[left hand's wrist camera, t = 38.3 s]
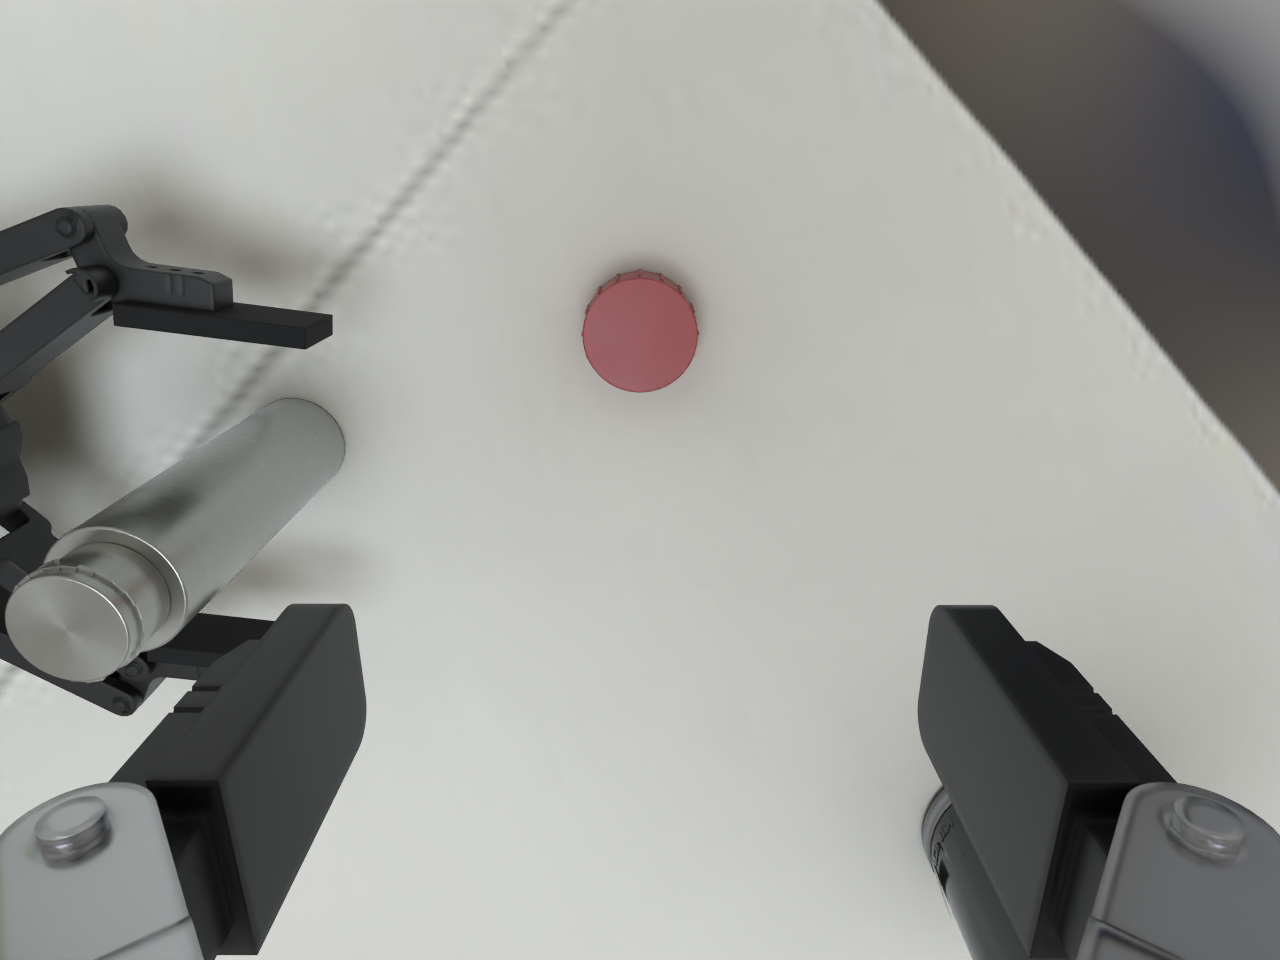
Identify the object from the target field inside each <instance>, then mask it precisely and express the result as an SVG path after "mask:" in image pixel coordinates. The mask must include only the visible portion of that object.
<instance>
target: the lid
mask: <svg viewBox="0 0 1280 960" xmlns="http://www.w3.org/2000/svg"><path fill="white" fill-rule="evenodd" d="M693 313H695V311H694V308H693V306H692V304H689V301H688V300H687V298H686V296H685V295H684V293H683V292H682V289H681V287H680V286H677V285H676V284H674V283H673V282H672V281H670V280H669V279H667V278H665V277H663V274H661V273H660V275H658V274H655V273H652V272H645V271H641V269H638V271H635V272H628V273H625V274H621V275H619V274H617V275H616V277H615V278H613V279H611V280H610V281H608V282H607V283H606V284H605V285H603V286H602V287H601V286H600V287H599V288H598V291H597V293H596V295H595V296H594V298H593V300H592V302H591V304H590V305H588V306H587V309H586V312H585V314H587V315H586V318H585V322H584V326H583V331H582V336H583V344H584V349H585V352H586V356H587V358H588V360H589V362H590V364H591V365H592V367H593V368H594V370H595V371H596V372H597V373H598V374H599V375H600V376H601V377H602V378H603V379H604V380H605V381H607V382H608V383H609V384H611V385H613V386H615V387H617V388H620V389H622V390H626V391H630V392H650V391H654V390H658V389H661V388H663V387H666V386H667V385H669V384H671V383H672V382H674V381H675V380H676V379H678V378H679V377H680V376H681V375H682V374H683V373H684V371H685V370H686V369H687V368H688V366H689V364H690V363H691V361H692V358H693V357H694V354H695V350H696V346H697V336H698V335H699V332H698V329H697V324H696V320H695V317H694V314H693Z"/></svg>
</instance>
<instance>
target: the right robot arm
mask: <svg viewBox="0 0 1280 960" xmlns="http://www.w3.org/2000/svg"><path fill="white" fill-rule="evenodd" d="M127 227H128V223H127V220H126V217H125V215H124V214H123V213H122V212H121V210H119V209H118V208H116V207H115V206H111V205H94V206H79V207H67V208H58V209H55V210H52V211H50V212H47V213H45V214H42V215H40V216H37V217H35V218H32V219H30V220H27V221H25V222H22V223H20V224H17V225H15V226H12V227H10V228H7V229H5V230H2V231H0V285H3V284H5V283H8V282H10V281H13V280H15V279H18V278H20V277H23V276H26V275H28V274H31V273H33V272H36V271H38V270H41V269H43V268H46V267H49V266H51V265H54V264H56V263H59V262H61V261H64V260H67V259H69V258H72V257H73V258H74V261H75V263H76V265H77V267H78V268H72V269H69V270H67V271H65V272H66V273H67V274H71V273H74V274H72V275H71V276H70V277H68V278H67V279H66V280H65V281H63V282H62V283H61V284H60V285H58V286H57V287H56V288H54V289H53V290H52V291H51V292H49V293H48V294H47V295H46V296H44V297H43V298H42V299H40V300H39V301H38V302H37V303H35V304H34V305H33V306H32V307H30V308H29V309H28V310H26V311H25V312H24V313H23V314H21V315H20V316H19V317H18V318H16V319H15V320H14V321H12V322H11V323H10V324H9V325H7V326H6V327H5V328H4V329H2V330H1V331H0V404H1V403H2V402H3V401H4V400H6V399H7V398H8V397H10V396H11V395H12V394H14V393H15V392H16V391H18V390H19V389H20V388H22V387H23V386H24V385H25V384H27V383H28V382H29V381H30V380H31V378H30V377H31V376H32V375H34V374H35V373H36V372H38V371H39V370H40V369H42V368H43V367H44V366H46V365H47V364H48V363H49V362H51V361H52V360H53V359H55V358H56V357H57V356H59V355H60V354H61V353H63V352H64V351H65V350H66V349H68V348H69V347H70V346H72V345H73V344H74V343H76V342H77V341H78V340H80V339H81V338H82V337H84V336H85V335H86V334H87V333H89V332H90V331H91V330H93V329H94V328H95V327H97V326H98V325H99V324H101V323H102V322H103V321H104V320H106V319H107V318H108V317H110V316H111V315H112V314H113V319H114V326H122V327H130V328H138V329H146V330H154V331H162V332H170V333H178V334H186V335H194V336H202V337H210V338H218V339H226V340H234V341H242V342H250V343H258V344H266V345H274V346H282V347H290V348H298V349H307V348H309V347H311V346H313V345H314V344H316V343H318V342H320V341H322V340H324V339H326V338H327V337H329V336H331V335H333V326H332V315H329V314H322V313H314V312H306V311H298V310H290V309H282V308H274V307H266V306H259V305H251V304H243V303H235V302H233V288H232V279H230V278H228V277H226V276H224V275H223V274H221V273H219V272H214V271H206V270H198V269H189V268H183V267H175V266H167V265H159V264H152V263H148V262H145V261H143V260H141V259H140V258H139V257H137V256H136V255H135V254H134V252H133V251H132V250H131V248H130V246H129V244H128V241H127V239H126V237H125V234H126V232H127ZM21 443H22V437H21V430H20V423H19V421H11V419H10V417H9V415H8V414H7V412H6V411H5V410H4V409H3V407H2V406H1V405H0V525H1V526H2V527H3V528H5V529H6V530H7V531H9V532H10V533H9V534H7V535H5V536H4V537H2V538H0V659H2V660H4V661H7V662H9V663H11V664H13V665H15V666H17V667H19V668H21V669H23V670H25V671H27V672H29V673H31V674H33V675H36V676H38V677H40V678H42V679H44V680H46V681H48V682H50V683H52V684H54V685H56V686H58V687H60V688H63V689H65V690H67V691H69V692H71V693H73V694H75V695H77V696H79V697H81V698H83V699H85V700H87V701H90V702H92V703H94V704H96V705H98V706H100V707H102V708H104V709H106V710H108V711H110V712H112V713H114V714H117V715H120V716H129V715H132V714H133V713H134V712H135V711H136V710H137V709H138V707H139V706H141V705H142V704H143V702H144V701H145V700H146V699H147V698H148V697H149V696H150V695H151V694H152V693H153V692H154V691H155V689H156V688H157V687H158V686H159V685H160V684H161V683H162V682H163V680H164V679H165V678H166V677H169V678H179V679H188V680H198V679H199V678H200V677H201V676H202V675H203V673H204V672H205V671H206V670H207V669H208V668H209V667H210V665H211V664H212V663H213V662H214V661H215V660H217V659H219V658H220V657H222V656H223V655H225V654H226V653H228V652H230V651H231V650H233V649H234V648H236V647H238V646H239V645H241V644H242V643H244V642H246V641H247V640H260V639H261V638H262V637H263V636H264V634H265V633H266V632H267V631H268V629H269V628H270V627H271V626H272V625H273V623H274V622H275V621H268V620H259V619H250V618H240V617H231V616H222V615H213V614H204V613H197V615H196V616H195V617H194V618H193V619H192V620H191V621H190V622H189V623H188V624H187V625H186V626H185V627H184V628H183V629H182V630H181V631H180V632H179V633H178V634H177V635H176V636H175V637H174V638H173V639H172V640H170V641H169V642H167V643H166V644H164V645H162V646H160V647H158V648H155V649H153V650H149V651H145V652H140V653H139V655H138V656H137V657H136V658H134V659H133V660H132V661H131V662H130V663H129V664H127V665H125V666H123V667H121V668H118V669H117V670H116V671H115V672H113V673H112V674H110V675H108V676H106V678H105V679H104V680H103V681H97V682H91V683H86V682H75V681H70V680H65V679H61V678H58V677H55V676H52V675H50V674H48V673H46V672H44V671H42V670H40V669H38V668H37V667H35V666H34V665H33V664H31V663H30V662H29V661H28V660H27V659H25V658H24V657H23V656H22V655H21V653H20V652H19V651H18V650H17V649H16V647H15V646H14V644H13V643H12V641H11V639H10V637H9V635H8V632H7V629H6V625H5V609H6V605H7V602H8V600H9V598H10V596H11V594H12V592H13V590H14V588H15V586H16V585H17V584H18V583H19V582H20V581H21V580H22V579H23V578H25V577H26V576H27V575H28V574H30V573H31V572H34V571H36V570H37V569H38V568H39V567H40V566H42V565H43V561H44V559H45V557H46V554H47V552H48V551H49V549H50V548H51V546H52V545H53V544H54V543H55V542H56V541H57V540H58V539H57V538H56V537H55V536H54V535H53V534H52V533H51V527H52V526H51V524H50V522H49V521H48V520H47V519H46V518H45V517H43V516H42V515H41V514H40V513H38V512H37V511H36V510H34V509H33V508H32V507H31V506H29V505H28V504H27V503H25V502H24V501H23V498H25V497H27V496H29V495H30V491H29V485H28V478H27V475H26V473H25V470H24V468H23V466H22V463H21V461H20V458H19V456H20V449H21Z"/></svg>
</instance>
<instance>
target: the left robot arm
mask: <svg viewBox="0 0 1280 960" xmlns="http://www.w3.org/2000/svg"><path fill="white" fill-rule="evenodd" d="M365 722H366V696H365V689H364V681H363V674H362V667H361V660H360V652H359V645H358V638H357V631H356V624H355V618H354V614H353V611H352V609H351V608H350V606H349V605H348V604H291V605H289V606H288V607H287V608H286V609H285V610H284V611H283V612H282V614H281V615H280V616H279V617H278V618H277V620H276V621H275V622H274V623H273V625H272V626H271V627H270V628H269V629H268V631H267V632H266V633H265V634H264V636H263V637H262V638H261V639H260V640H247V641H246V642H244V643H242V644H241V645H239V646H238V647H236V648H234V649H233V650H231V651H230V652H228V653H226V654H225V655H223V656H222V657H220V658H219V659H217V660H215V661H214V662H213V663H212V664H211V665H210V667H209V668H208V669H207V670H206V671H205V672H204V673H203V675H202V676H201V677H200V678H199V679H198V680H197V681H196V683H195V684H194V685H193V686H192V691H188V692H187V693H186V694H185V695H184V696H183V697H182V699H181V700H180V701H179V702H178V703H177V704H176V705H175V707H174V712H173V713H168V715H167V716H166V717H165V718H164V719H163V720H162V721H161V723H160V724H159V725H158V726H157V727H156V728H155V729H154V731H153V732H152V733H151V734H150V735H149V736H148V737H147V739H146V740H145V741H144V742H143V743H142V744H141V745H140V747H139V748H138V749H137V750H136V751H135V752H134V753H133V754H132V756H131V757H130V758H129V759H128V760H127V761H126V762H125V764H124V765H123V766H122V767H121V768H120V769H119V770H118V772H117V773H116V774H115V775H114V776H113V777H112V778H111V780H110V781H109V782H107V783H100V784H94V785H90V786H85V787H81V788H78V789H75V790H72V791H69V792H66V793H64V794H61V795H59V796H56V797H54V798H52V799H50V800H48V801H46V802H44V803H42V804H40V805H38V806H37V807H35V808H33V809H32V810H30V811H28V812H27V813H26V814H24V815H23V816H21V817H20V818H19V819H17V820H16V821H15V822H14V823H12V824H11V825H10V826H9V827H8V828H7V829H6V830H5V831H4V832H3V833H2V834H1V835H0V960H215V958H216V956H217V955H258V953H259V951H260V949H261V947H262V944H263V942H264V940H265V938H266V936H267V934H268V932H269V930H270V928H271V926H272V924H273V922H274V920H275V918H276V916H277V914H278V912H279V910H280V908H281V906H282V904H283V902H284V900H285V898H286V896H287V894H288V891H289V889H290V887H291V885H292V883H293V881H294V879H295V877H296V875H297V873H298V871H299V869H300V867H301V865H302V863H303V861H304V859H305V857H306V855H307V853H308V851H309V849H310V847H311V845H312V843H313V841H314V838H315V836H316V834H317V832H318V830H319V828H320V826H321V824H322V822H323V820H324V818H325V816H326V814H327V812H328V810H329V808H330V806H331V804H332V802H333V800H334V798H335V796H336V794H337V792H338V790H339V788H340V785H341V783H342V781H343V779H344V777H345V775H346V773H347V771H348V769H349V767H350V765H351V763H352V761H353V759H354V757H355V755H356V753H357V751H358V749H359V746H360V744H361V741H362V738H363V734H364V729H365ZM918 722H919V729H920V735H921V739H922V742H923V745H924V748H925V750H926V752H927V754H928V756H929V758H930V760H931V762H932V764H933V766H934V768H935V770H936V772H937V774H938V776H939V778H940V780H941V782H942V784H943V786H944V789H943V790H942V791H941V792H940V793H939V795H938V796H937V797H936V799H935V800H934V801H933V803H932V804H931V806H930V808H929V810H928V812H927V814H926V817H925V820H924V824H923V831H922V840H923V846H924V850H925V853H926V855H927V857H928V860H929V862H930V864H931V867H932V869H933V871H934V873H935V875H936V877H937V880H938V883H939V887H940V890H941V893H942V896H943V899H944V902H945V904H946V907H947V909H948V906H947V903H946V900H945V897H944V894H943V891H944V893H945V895H946V898H947V900H948V902H949V905H950V907H951V910H952V912H953V915H954V917H955V920H956V922H957V924H958V927H959V929H960V931H961V934H962V936H963V938H964V941H965V943H966V945H967V948H968V950H969V952H970V955H971V957H972V959H973V960H1280V835H1279V834H1278V833H1277V832H1276V831H1275V830H1274V829H1273V828H1272V827H1271V826H1270V825H1269V824H1268V823H1266V822H1265V821H1264V820H1263V819H1261V818H1260V817H1259V816H1257V815H1256V814H1254V813H1253V812H1252V811H1250V810H1248V809H1247V808H1245V807H1243V806H1242V805H1240V804H1238V803H1236V802H1234V801H1232V800H1230V799H1228V798H1226V797H1224V796H1221V795H1219V794H1216V793H1214V792H1211V791H1208V790H1205V789H1202V788H1199V787H1195V786H1190V785H1186V784H1180V783H1177V782H1176V781H1175V780H1174V779H1173V778H1172V776H1171V775H1170V774H1169V773H1168V772H1167V771H1166V770H1165V769H1164V767H1163V766H1162V765H1161V764H1160V763H1159V762H1158V761H1157V759H1156V758H1155V757H1154V756H1153V755H1152V754H1151V753H1150V752H1149V750H1148V749H1147V748H1146V747H1145V746H1144V745H1143V744H1142V742H1141V741H1140V740H1139V739H1138V738H1137V737H1136V736H1135V735H1134V733H1133V732H1132V731H1131V730H1130V729H1129V728H1128V727H1127V726H1126V724H1125V723H1124V722H1123V721H1122V720H1121V719H1120V718H1119V716H1118V715H1113V714H1112V709H1111V707H1110V706H1109V705H1108V704H1107V703H1106V702H1105V701H1104V700H1103V698H1102V697H1101V696H1100V695H1099V694H1098V693H1094V691H1093V687H1092V686H1091V685H1090V684H1089V683H1088V681H1087V680H1086V679H1085V678H1084V677H1083V676H1082V675H1081V673H1080V672H1079V671H1078V670H1077V669H1076V668H1075V667H1074V666H1073V664H1072V663H1071V662H1069V661H1067V660H1066V659H1064V658H1063V657H1061V656H1059V655H1058V654H1056V653H1055V652H1053V651H1051V650H1050V649H1048V648H1047V647H1045V646H1043V645H1042V644H1040V643H1039V642H1037V641H1025V640H1024V639H1023V638H1022V637H1021V636H1020V634H1019V633H1018V632H1017V631H1016V630H1015V628H1014V627H1013V626H1012V625H1011V624H1010V622H1009V621H1008V620H1007V619H1006V617H1005V616H1004V615H1003V614H1002V613H1001V611H1000V610H999V609H998V608H997V607H995V606H993V605H938V606H936V607H935V608H934V610H933V611H932V614H931V617H930V621H929V628H928V635H927V642H926V649H925V656H924V663H923V670H922V677H921V684H920V691H919V699H918ZM941 886H942V888H943V891H942V888H941ZM948 911H949V909H948ZM949 914H950V912H949ZM950 916H951V915H950Z"/></svg>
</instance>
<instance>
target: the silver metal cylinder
mask: <svg viewBox="0 0 1280 960" xmlns="http://www.w3.org/2000/svg"><path fill="white" fill-rule="evenodd" d="M344 454H345V445H344V439H343V436H342V433H341V430H340V428H339V427H338V425H337V423H336V422H335V420H334V419H333V418H332V417H331V416H330V415H329V414H328V413H327V412H326V411H325V410H323V409H322V408H320V407H319V406H317V405H315V404H313V403H311V402H308V401H305V400H301V399H281V400H277V401H275V402H272V403H270V404H268V405H267V406H265V407H264V408H262V409H260V410H259V411H257V412H256V413H254V414H253V415H251V416H250V417H248V418H246V419H245V420H243V421H242V422H240V423H239V424H237V425H235V426H234V427H232V428H231V429H229V430H228V431H226V432H225V433H223V434H221V435H220V436H218V437H217V438H215V439H214V440H212V441H210V442H209V443H207V444H206V445H204V446H203V447H201V448H199V449H198V450H196V451H195V452H193V453H192V454H190V455H189V456H187V457H185V458H184V459H182V460H181V461H179V462H178V463H176V464H174V465H173V466H171V467H170V468H168V469H167V470H165V471H164V472H162V473H160V474H159V475H157V476H156V477H154V478H153V479H151V480H149V481H148V482H146V483H145V484H143V485H142V486H140V487H138V488H137V489H135V490H134V491H132V492H131V493H129V494H128V495H126V496H124V497H123V498H121V499H120V500H118V501H117V502H115V503H113V504H112V505H110V506H109V507H107V508H106V509H104V510H103V511H101V512H99V513H98V514H96V515H95V516H93V517H92V518H90V519H88V520H87V521H85V522H84V523H82V524H81V525H79V526H78V527H76V528H74V529H73V530H71V531H70V532H68V533H67V534H65V535H63V536H62V537H61V538H59V539H58V540H57V541H56V542H55V543H54V544H53V545H52V546H51V548H50V549H49V551H48V552H47V554H46V557H45V559H44V561H43V565H42V566H40V567H39V568H38V569H37V570H36V571H34V572H31V573H30V574H28V575H27V576H26V577H25V578H23V579H22V580H21V581H20V582H19V583H18V584H17V585H16V586H15V588H14V590H13V592H12V594H11V596H10V598H9V600H8V602H7V605H6V609H5V625H6V629H7V632H8V635H9V637H10V639H11V641H12V643H13V644H14V646H15V647H16V649H17V650H18V651H19V652H20V653H21V655H22V656H23V657H24V658H25V659H27V660H28V661H29V662H30V663H31V664H33V665H34V666H35V667H37V668H38V669H40V670H42V671H44V672H46V673H48V674H50V675H52V676H55V677H58V678H61V679H65V680H70V681H75V682H86V683H91V682H97V681H103V680H104V679H105V678H106V676H108V675H110V674H112V673H113V672H115V671H116V670H117V669H118V668H121V667H123V666H125V665H127V664H129V663H130V662H131V661H132V660H133V659H134V658H136V657H137V656H138V655H139V653H140V652H145V651H149V650H153V649H155V648H158V647H160V646H162V645H164V644H166V643H167V642H169V641H170V640H172V639H173V638H174V637H175V636H176V635H177V634H178V633H179V632H180V631H181V630H182V629H183V628H184V627H185V626H186V625H187V624H188V623H189V622H190V621H191V620H192V619H193V618H194V617H195V616H196V615H197V613H198V612H199V611H200V610H201V609H202V608H203V607H204V606H205V605H206V604H207V603H208V602H209V601H210V600H211V599H212V598H213V597H214V596H215V595H216V594H217V593H218V592H219V591H220V590H221V589H222V588H223V587H224V586H225V585H226V584H227V583H228V582H229V581H230V580H231V579H232V578H233V577H234V576H235V575H236V574H237V573H238V572H239V571H240V570H241V569H242V568H243V567H244V566H245V565H246V564H247V563H248V562H249V561H250V560H251V559H252V558H253V557H254V556H255V555H256V554H257V553H258V552H259V551H260V550H261V549H262V548H263V547H264V546H265V545H266V544H267V543H268V542H269V541H270V540H271V539H272V538H273V537H274V536H275V535H276V534H277V533H278V532H279V531H280V530H281V529H282V528H283V526H284V525H285V524H286V523H287V522H288V521H289V520H290V519H291V518H292V517H293V516H294V515H295V514H296V513H297V512H298V511H299V510H300V509H301V508H302V507H303V506H304V505H305V504H306V503H307V502H308V501H309V500H310V499H311V498H312V497H313V496H314V495H315V494H316V493H317V492H318V491H319V490H320V489H321V488H322V487H323V486H324V485H325V484H326V483H327V482H328V481H329V480H330V479H331V478H332V477H333V476H334V475H335V474H336V473H337V471H338V470H339V468H340V467H341V465H342V462H343V459H344Z"/></svg>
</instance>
